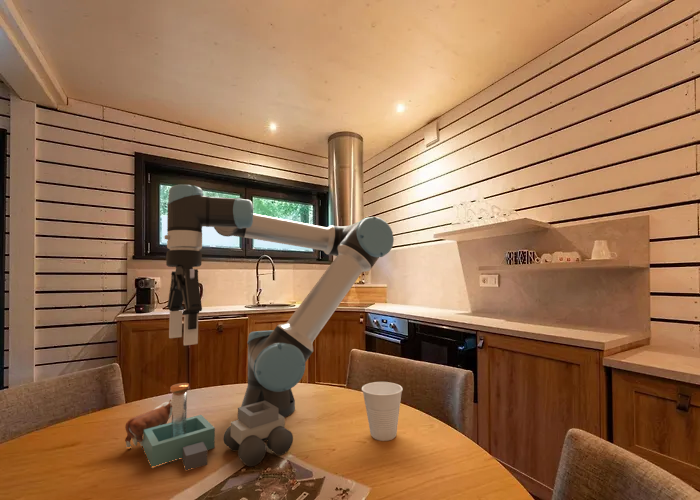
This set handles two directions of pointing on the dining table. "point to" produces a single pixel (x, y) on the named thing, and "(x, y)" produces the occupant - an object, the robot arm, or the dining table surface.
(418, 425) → the dining table surface
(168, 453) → the tray
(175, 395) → the glass jar
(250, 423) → the trolley
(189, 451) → the block
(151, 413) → the bull figurine
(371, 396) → the cup
